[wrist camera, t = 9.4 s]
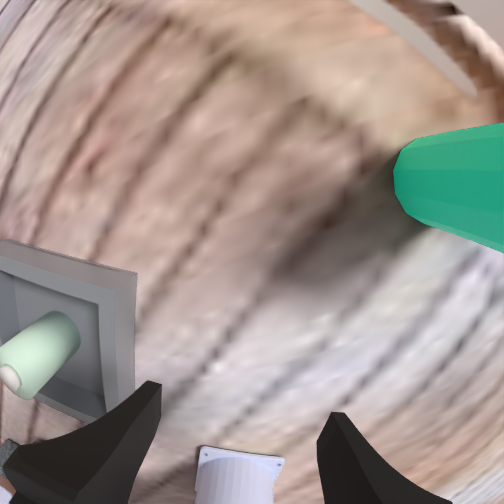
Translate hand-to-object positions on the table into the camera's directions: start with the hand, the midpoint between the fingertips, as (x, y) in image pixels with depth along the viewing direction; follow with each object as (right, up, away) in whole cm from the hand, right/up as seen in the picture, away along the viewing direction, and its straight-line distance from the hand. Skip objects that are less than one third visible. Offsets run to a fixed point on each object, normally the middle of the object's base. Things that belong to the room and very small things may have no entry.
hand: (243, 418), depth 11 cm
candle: (+12, +12, +7) cm, 18 cm away
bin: (-15, 0, +10) cm, 18 cm away
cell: (-15, 0, +10) cm, 18 cm away
